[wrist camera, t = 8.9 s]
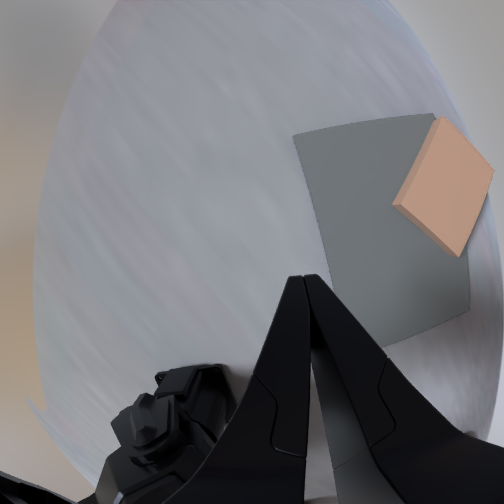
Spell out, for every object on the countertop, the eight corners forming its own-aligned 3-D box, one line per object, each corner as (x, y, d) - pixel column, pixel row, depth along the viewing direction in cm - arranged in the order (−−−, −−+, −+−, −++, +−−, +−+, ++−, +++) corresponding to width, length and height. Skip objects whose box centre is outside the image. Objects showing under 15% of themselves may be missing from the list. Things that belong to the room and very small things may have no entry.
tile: (458, 257, 17) (494, 170, 16) (400, 204, 17) (443, 115, 16) (447, 254, 19) (482, 172, 18) (390, 205, 19) (432, 121, 18)
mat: (466, 307, 20) (469, 309, 20) (346, 355, 21) (347, 358, 21) (429, 115, 18) (433, 113, 18) (292, 137, 20) (293, 135, 19)
